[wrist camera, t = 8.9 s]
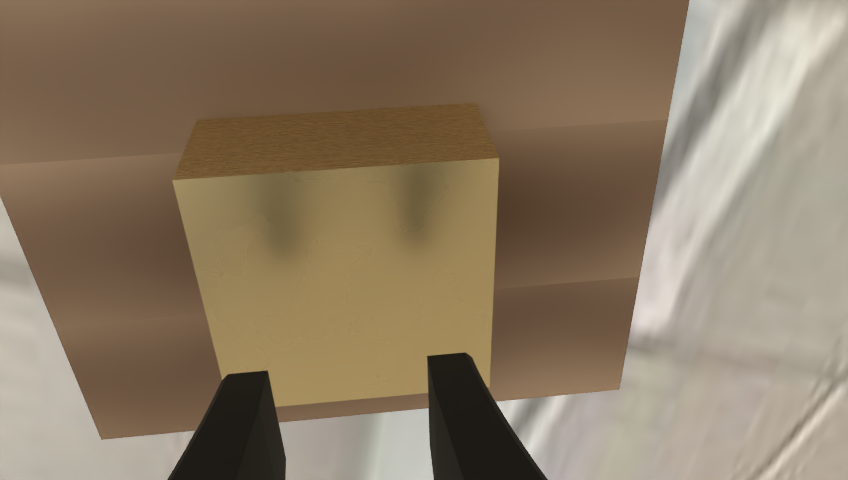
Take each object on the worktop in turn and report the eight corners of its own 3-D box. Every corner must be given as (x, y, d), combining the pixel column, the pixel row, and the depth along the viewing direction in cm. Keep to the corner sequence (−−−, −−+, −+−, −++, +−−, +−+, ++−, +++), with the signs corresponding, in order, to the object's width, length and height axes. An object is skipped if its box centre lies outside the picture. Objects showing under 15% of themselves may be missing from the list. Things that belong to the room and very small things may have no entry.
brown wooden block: (578, 299, 23) (619, 389, 20) (137, 338, 22) (101, 439, 19) (628, -109, 16) (703, -79, 13) (-3, -81, 15) (-98, -41, 12)
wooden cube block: (451, 237, 20) (489, 387, 15) (256, 252, 20) (230, 410, 15) (452, 47, 17) (498, 158, 12) (220, 60, 17) (172, 180, 12)
